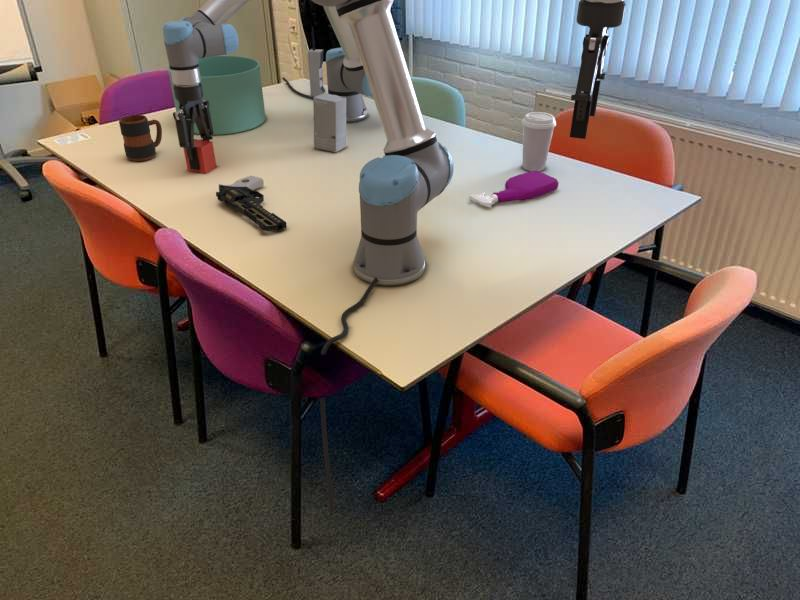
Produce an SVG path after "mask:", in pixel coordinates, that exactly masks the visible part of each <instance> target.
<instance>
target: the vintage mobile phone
mask: <svg viewBox="0 0 800 600" xmlns="http://www.w3.org/2000/svg"><path fill="white" fill-rule="evenodd" d="M311 39H312V40H311V41H312V42H311V43H312V48H310V49H309V50H307V62H308V75H309V89H310V96H312V97H315V96H318V95H321V94H324V93H326V94H327V91H326V89H325V86H324V78H323V77H324V76H323V64H324V49H316V44H315V43H316V42H315V31H314V26H311Z"/></svg>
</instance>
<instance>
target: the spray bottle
mask: <svg viewBox="0 0 800 600" xmlns="http://www.w3.org/2000/svg"><path fill="white" fill-rule="evenodd" d="M559 184H560V183H559V180H558V179H557V178H555V177H553V176H551V175H548V174H546V173H544V172H542V171H527V172H524V173H520V174H516V175H513V176H511V177H509V178H508V179H507V180H506V181H505V183H504V188H505V189H504V190H500V191H497V192H493V193H491V194H490V195H488V194H487V195H486V192H485V191H484V192H483V193H481V194H475V195H474V194H469V196H468V198H469V199H471V200H472V201H473V202H475V203H477V204H479V205H480V206H483V207H487V208H492V205H495V204H496V203H507V202H517V201H520V202H524V201H529V200H533V199H536V198H539V197H542V196H545V195H548V194H551V193H552V192H555V191H556V190H558V188H559Z"/></svg>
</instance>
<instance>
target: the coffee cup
mask: <svg viewBox="0 0 800 600" xmlns="http://www.w3.org/2000/svg"><path fill="white" fill-rule="evenodd" d="M521 125H522V161H521V162H522V163H521V164H522V165H521V166H522V169H524V170H525V171H527V172H531V171H539V172H542V171H544V170H545V169H546V166H547V161H548V156H549V152H550V147H551V143H552V139H553V134H554V129H555V127H556V126H557V121H556V119H555V116H554V115H553V114H552V113H548V112H544V111H532V112H528V113H526V114H525V115H524V117H523V118H522V120H521Z"/></svg>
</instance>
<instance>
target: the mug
mask: <svg viewBox="0 0 800 600" xmlns="http://www.w3.org/2000/svg"><path fill="white" fill-rule="evenodd" d="M118 124H119V129H120V134H121V136H122V139H123V148H124V154H125V157H126V158H127V159H128V160H130V161H131V162H144V161H148V160H151V159H153V158H154V157H155V156H156V154H157V150H156V148H157V147H158V146H160V144H161V143H162V140H163V139H162V138H163V128H162V124H161V122H160V121H159V120H157V119H151V120H148V117H147V116H146V115H143V114H131V115H126V116H123V117H121V118H119V120H118ZM153 125H155V127H156V128H155V129H156V136H155V141H154V140H153V138H152V134H151V127H150V126H153Z"/></svg>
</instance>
